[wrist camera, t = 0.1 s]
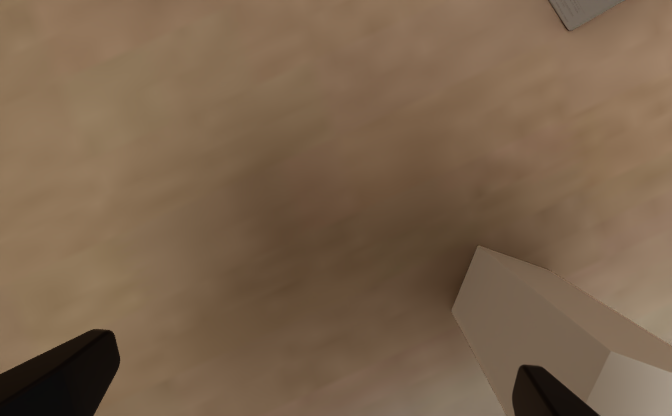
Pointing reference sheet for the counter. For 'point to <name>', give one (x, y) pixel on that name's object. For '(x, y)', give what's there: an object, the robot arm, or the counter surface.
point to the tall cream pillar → (559, 338)
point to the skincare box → (581, 10)
